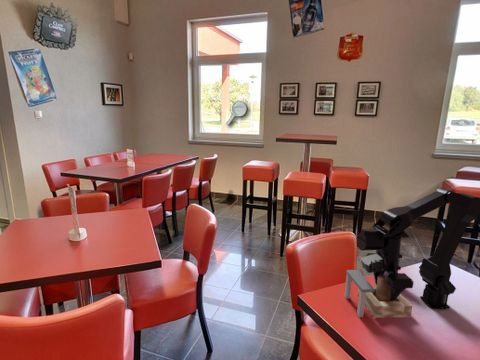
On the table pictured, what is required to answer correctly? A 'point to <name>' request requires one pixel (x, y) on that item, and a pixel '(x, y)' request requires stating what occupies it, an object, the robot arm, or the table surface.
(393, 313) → the socket block
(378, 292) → the peg
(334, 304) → the table surface
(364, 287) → the grey arch frame
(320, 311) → the table surface
